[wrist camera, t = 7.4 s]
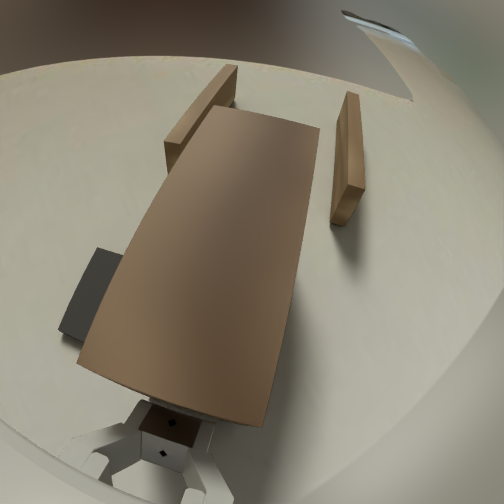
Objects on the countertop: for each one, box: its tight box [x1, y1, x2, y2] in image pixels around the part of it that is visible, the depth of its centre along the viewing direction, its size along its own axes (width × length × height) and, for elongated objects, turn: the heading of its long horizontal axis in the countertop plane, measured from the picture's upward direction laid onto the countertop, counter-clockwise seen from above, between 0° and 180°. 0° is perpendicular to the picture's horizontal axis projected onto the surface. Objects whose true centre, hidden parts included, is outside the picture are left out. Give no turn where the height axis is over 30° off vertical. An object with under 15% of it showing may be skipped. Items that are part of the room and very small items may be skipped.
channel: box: [164, 64, 365, 226], centre depth 24 cm, size 13×14×4 cm
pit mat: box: [58, 247, 123, 343], centre depth 17 cm, size 4×6×1 cm, turn 166°
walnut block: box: [77, 105, 320, 427], centre depth 14 cm, size 5×12×9 cm, turn 166°
